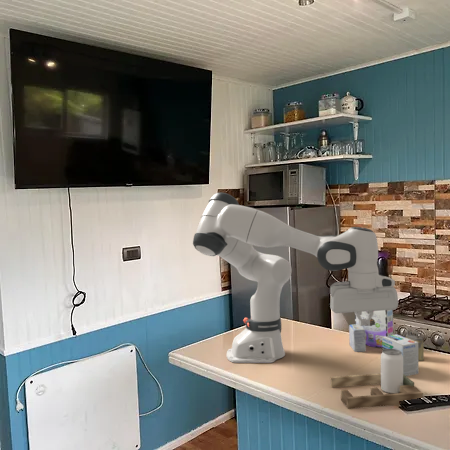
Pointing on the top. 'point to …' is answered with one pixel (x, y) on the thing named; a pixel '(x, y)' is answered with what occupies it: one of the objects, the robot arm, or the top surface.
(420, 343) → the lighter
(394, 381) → the can
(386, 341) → the light bulb box
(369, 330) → the candy box
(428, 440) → the top surface
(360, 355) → the top surface
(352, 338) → the medicine box
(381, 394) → the trap box
